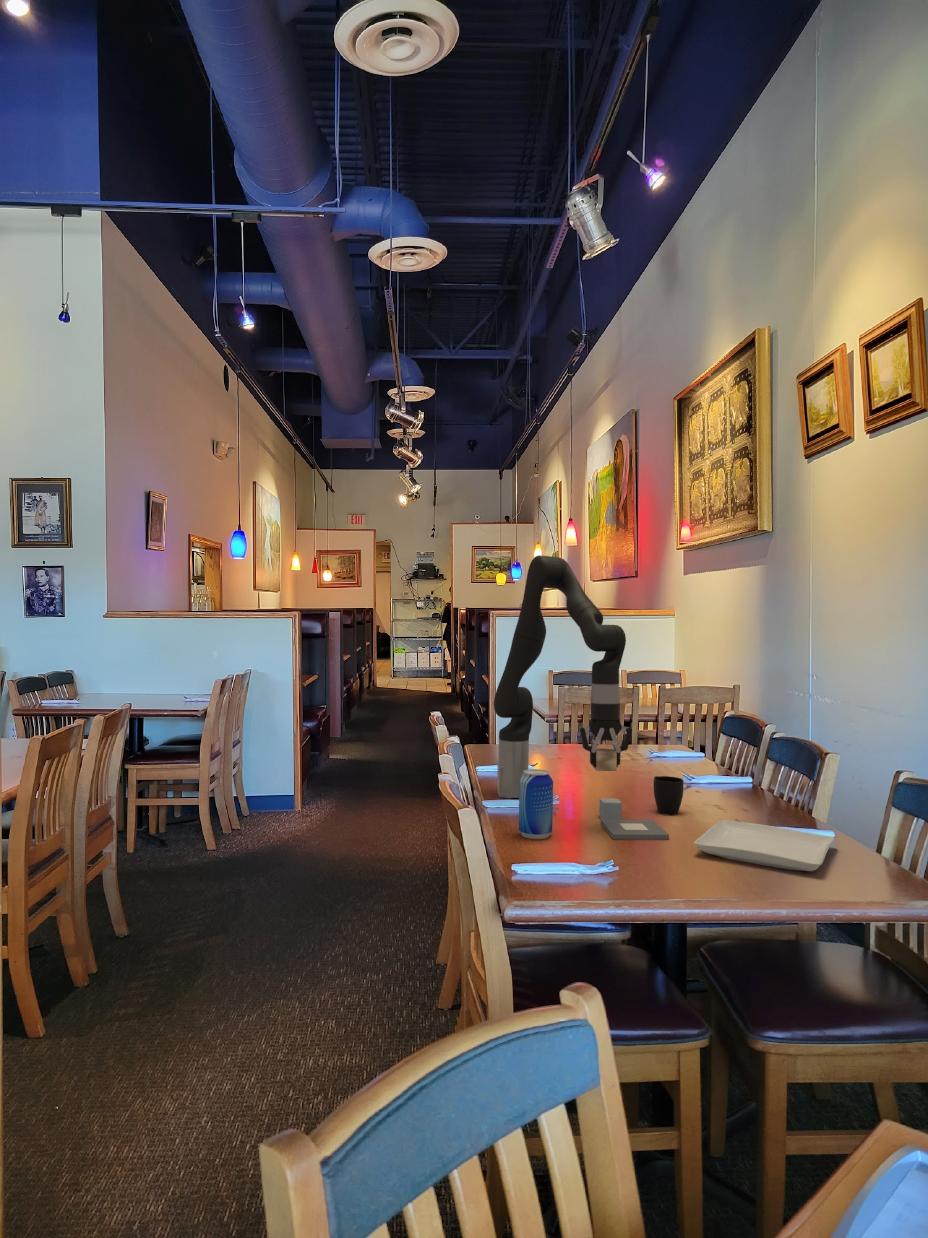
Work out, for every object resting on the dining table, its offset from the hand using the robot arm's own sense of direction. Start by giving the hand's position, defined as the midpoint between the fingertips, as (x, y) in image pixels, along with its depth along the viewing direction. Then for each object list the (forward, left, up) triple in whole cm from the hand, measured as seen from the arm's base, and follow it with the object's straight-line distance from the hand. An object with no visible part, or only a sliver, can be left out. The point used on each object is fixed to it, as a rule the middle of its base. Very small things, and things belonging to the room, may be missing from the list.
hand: (605, 766), depth 200 cm
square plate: (+34, -19, -17) cm, 43 cm away
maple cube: (0, 0, -1) cm, 1 cm away
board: (+7, -2, -16) cm, 18 cm away
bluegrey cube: (+4, +11, -16) cm, 20 cm away
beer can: (-19, -6, -16) cm, 26 cm away
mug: (+22, +20, -16) cm, 34 cm away
